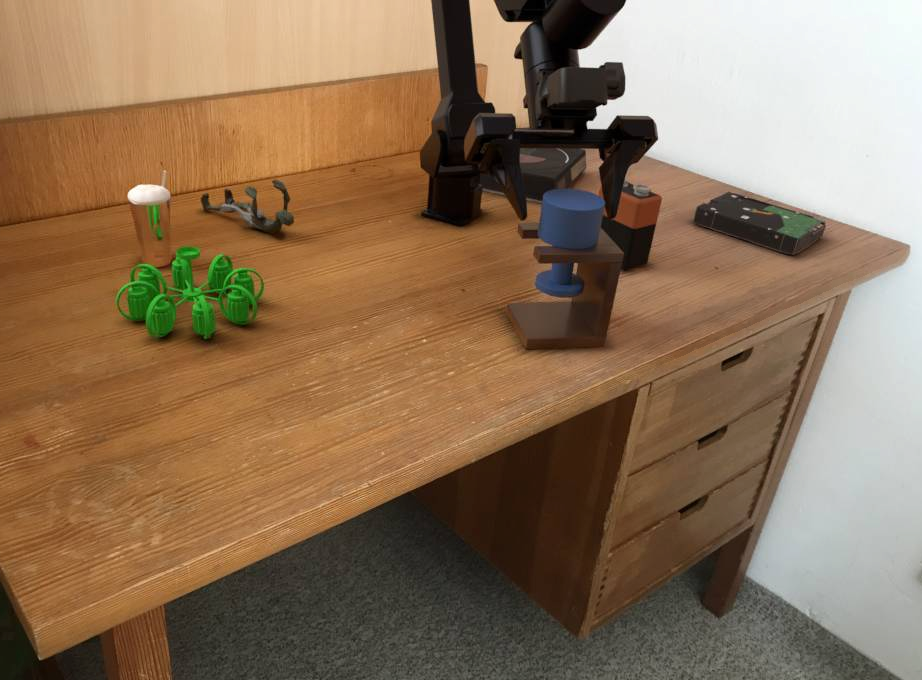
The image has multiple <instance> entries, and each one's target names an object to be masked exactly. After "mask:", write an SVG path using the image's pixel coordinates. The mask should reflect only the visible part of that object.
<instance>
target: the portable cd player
mask: <svg viewBox="0 0 922 680" xmlns="http://www.w3.org/2000/svg"><path fill="white" fill-rule="evenodd" d="M586 153H587V152H586V149H560V148H520V167H521V173H522V178H523V184H524V190H525V195H526V201H529V202H533V203H538V204H542V200H543V195H544V193H546V192H547V191H550V190H553V189H569V188H570V187H571V186H572V184H574V182H575V181H576V180H578V178H580V177H581V176H582V175H583V173H584V172H585V170H586V169H587V154H586ZM480 184H481V185H482V186H483V187H482V192H486V193H492V194H495V195H501V196H505V194H504V193H503V191H502V190H501V188H500V187H499V186H498V185H497V183H496V182H495V181H494V179H493V178H492V177H491V176H490V174H486V173H485V174H481V175H480Z"/></svg>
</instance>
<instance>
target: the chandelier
mask: <svg viewBox="0 0 922 680" xmlns="http://www.w3.org/2000/svg"><path fill="white" fill-rule="evenodd" d="M200 256H201V250H200V249H199V247H196V246H182V247H179V248H178V249H177V250H176V254H175V260H173V261H171V264H172V266H171V278H172V285H173V286H174V287H170V286H168V284H167V280H166V278H165V277H164V275H163V274H162V272H161V271H160V270H159V269H158V268H156V267H153V266H152V265H149V264H143V263H140V264H137V265H135V266H134V267H133V268H132V269H131V271H130V275H129V280H130V282H128V283H126V284H124V285H123V286H122V287H121V288H120V290H118V292H117V294H116V300H115V302H116V308H117V310H118V312H119V313H120V315H122V316H123V317H124V318H126V320H127V319H128V320H130V321H133V322H141V321H145V327H146V330H147V331H148V333H149V335H150V336H152V337H156V338H163V337H165V336H167V335H168V334H169V333H170V332H172V331H173V330H174V328H175V321H176V318H177V317H176V316H177V307H178V306H180V305H181V304H182V303H184V302H190V303H192V302H193V303H195V304H193V306H192V312H191V318H192V327H193V328H192V329H193V331H194V333H195V334H197V335H200V336H202V338H203V339H204V340H207V339H211V337H212V334H213V333H214V332H215V331H216V328H217V327H216V314H215V310H214V307H213V305H212V303H210V302H208V300H211V301H215V302H218V306H219V309H220V311H221V313H222V314H223V315H224V317H225V318H226V319H227V320H228V321H230V322H231V323H233V324H235V325H240V326H244V325H248V324H250V323H252V321H253V320H255V318H256V317H257V314H258V303H257V302H258V300H259V299H260V298H261V296H262V295H263V293H264V289H265V283H264V279H263V278H262V276H261V275H260V273H259V272H258V271H257V270H255V269H254V268H250V267H239V268H236V269H234V266H233V265H234V264H233V261H232V259H231V257H230V256H229V255H226V254H221V253H220V254H218V255H216V256H215V257H214V258H213V259H212V261H211V263H210V265H209V268H208V272H207V282H205V283H204V284H202V285H201V286H199V287H194V273H193V266H192V260H193V261H194V260H196V259H198V258H199V257H200ZM138 268H141V270H140V271H138V273H137V278H136V279H137V280H136V279H135V273H136V271H137V269H138ZM248 272H249V273H248ZM250 272H251V273H253V274H255V275H257V277H258V278H259V280H260V289H259V292H258V293H257V294H256V296H255V281H254V280H253V276H252V274H250ZM232 279H233V281H232ZM160 282H161V283H160ZM161 285H162V292H161ZM207 286H208V287H209V289H210V290H203V289H204V288H205V287H207ZM128 288H129V289H128ZM127 289H128V290H127ZM228 289H229V290H230V289H231V291H229V292H228V293H227V290H228ZM126 290H127V295H126V301H127V308H128V313H129V314H127V313H125V312H124V311H123V310H122V308H121V307H120V298H121V296H122V294H123V293H124V291H126ZM168 290H169V291H174V292H177V293H179V294H174V295H173V294H171V295H168ZM180 293H181V294H180ZM212 293H214V294H218V298H217V297H211V296H208V295H204V294H212ZM223 296H225V298H226V307H225V305H224V300H223V299H224V298H223ZM175 298H181V300H179V301H178V302H176V301H175ZM167 300H168V301H167ZM250 305H252V310H253V312H252V315H251V316H252V317H251V318H250V319H249V316H250Z"/></svg>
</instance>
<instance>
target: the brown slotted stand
mask: <svg viewBox="0 0 922 680" xmlns="http://www.w3.org/2000/svg"><path fill="white" fill-rule="evenodd" d="M538 227H539V222H518V224H517V229H516V232H517V234H518V235H519V237H520V238H521V239H522V240H527V239H529V240H530V239H531V240H533V239H534V240H535V239H540V238H539V237H538ZM540 240H541V239H540ZM532 254H533V255H532V256H533V257H534V259H535V260H536V261H537V263H538V264H540V265H541V264H542V265H543V264H544V265H545V264H552V263H574V264H577V267H576V273H575V274H576V275H578V276H579V277H581V278H582V279H583V280H584V283H585V285H584V290H583V292H582V293H581V294H580V295H578V296H576V297H571V300H570V301H535V302H534V301H533V302H530V301H529V302H507V303H506V311H505V313H506V315H507V316H508V318H509V321H510V323H511V324H512V326H513V328H514V329H515V331H516V333H517V336H518V337H519V339H520V340H521V343H522V345H523V347H524V349H525V350H541V349H542V350H543V349H544V350H545V349H570V348H571V349H573V348H574V349H575V348H600V347H601V348H603V347H605V346H606V341H607V336H608V333H609V332H608V331H609V327H610V323H611V317H612V313H613V307H614V302H615V299H616V294H617V289H618V284H619V280H620V276H621V275H620V274H621V270H622V269H621V266H622V260H623V256H624V253H623V252H622V251H621V249H620V248H619V247H618V246H617V245H616V244H615V243H614V242H613V240H612V239H611V238H610V237H609V236H608V235H607V234H606V233H605V232H604V230H602V228H600V233H599V238H598V242H597V244H596V245H595V246H593V247H590V248H586V249H565V248H560V247H556V246H552V245H535V246H534V248H533V253H532Z"/></svg>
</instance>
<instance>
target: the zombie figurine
mask: <svg viewBox="0 0 922 680" xmlns="http://www.w3.org/2000/svg"><path fill="white" fill-rule="evenodd" d="M271 183H273V187H274V188H275V189H276V190H278V191H280V192H281V194H283V209H281V210H278V211H276V212H275V220H273V219H271V218H270V219H268V218H267V217H266V214H265V213H264V211H262V210H260V209H259V208H258V200H257V197H258V196H257V195H258V190H257V189H256V188H255V187H252V186H249V185H248V186H246V187H245V189H244V193H245V195H247V196H248V197H250V198H251V199H252V201H251V203H250V202H246V201H244V202H240V201H237V202H236V201H235V199H234V196H233V192H232V191H231V189H229V188H225V189H224V203H222V205H211V203H210V201H209V199H210V194H209V193H208V192H205V193H203V194H202V195H201V196H200V203H201V206H202V209H203V212H207V211H208V212H209V211H214V212H219V213H225V214H231V213H233V214H234V213H237V214H238V216H239V217H240V218H242V219H243V220H244V221H245V223H246V225H247V227H249V228H253V229H257V230H260V231H262V232H265V233H268V234H270V235H272V234H276V233H278V232H279V231H281V229H282V228H283V225H285V226H287V227H291V226H292V225H293V224H294V223H295V216H294V215H293V214H292V212H291V211H288V205H289V203H290V201H291V198H290V194H289V192H288V189H287V187H286V185H285V184H284V182H283V181H280V180H277V179H273V180H271ZM244 210H245V211H248V212H245V211H244Z"/></svg>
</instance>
